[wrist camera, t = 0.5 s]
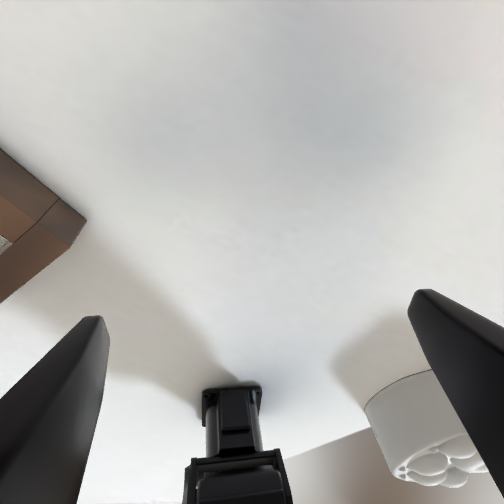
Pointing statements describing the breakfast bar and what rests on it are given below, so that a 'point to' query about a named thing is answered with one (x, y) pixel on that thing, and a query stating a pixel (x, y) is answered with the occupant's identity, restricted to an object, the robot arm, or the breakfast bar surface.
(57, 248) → the frame
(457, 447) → the lumpy-topped squat cylinder
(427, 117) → the breakfast bar surface
